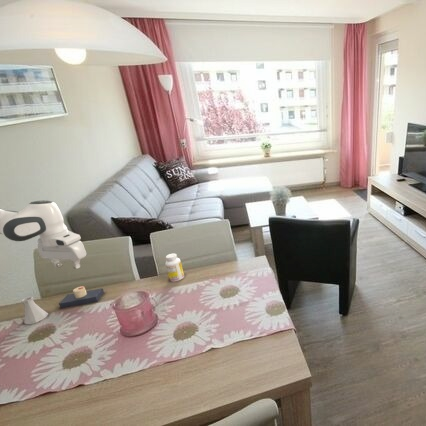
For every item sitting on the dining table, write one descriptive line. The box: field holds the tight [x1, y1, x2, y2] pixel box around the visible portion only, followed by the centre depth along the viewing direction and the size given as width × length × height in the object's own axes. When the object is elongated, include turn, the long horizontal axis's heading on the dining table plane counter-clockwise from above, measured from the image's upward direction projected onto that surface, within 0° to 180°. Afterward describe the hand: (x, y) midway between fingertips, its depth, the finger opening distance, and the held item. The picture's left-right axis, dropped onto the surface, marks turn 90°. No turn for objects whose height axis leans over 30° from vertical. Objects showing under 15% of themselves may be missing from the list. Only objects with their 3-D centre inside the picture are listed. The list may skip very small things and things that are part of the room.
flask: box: [21, 296, 49, 325], centre depth 119 cm, size 7×7×10 cm
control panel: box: [58, 287, 105, 309], centre depth 130 cm, size 14×7×3 cm, turn 105°
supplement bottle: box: [164, 253, 185, 282], centre depth 142 cm, size 7×7×13 cm
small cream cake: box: [72, 285, 87, 298], centre depth 129 cm, size 4×4×4 cm
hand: (68, 267), depth 125 cm, fingers open, 8 cm apart
